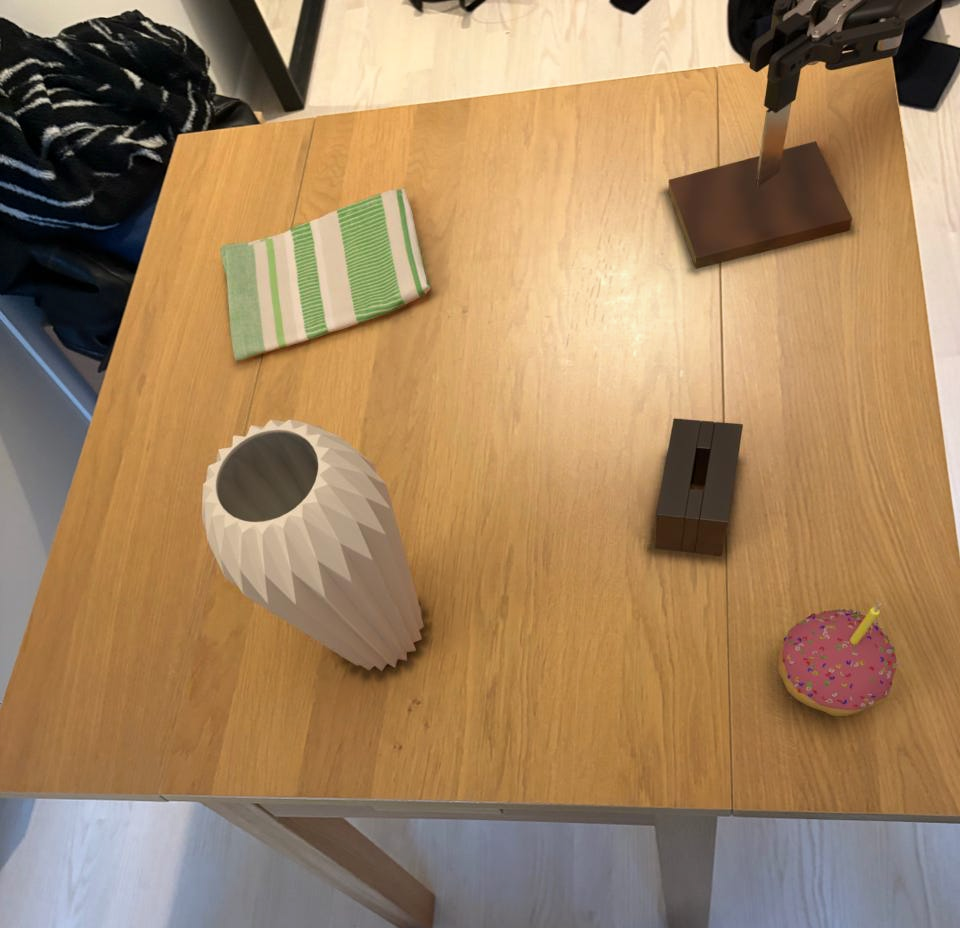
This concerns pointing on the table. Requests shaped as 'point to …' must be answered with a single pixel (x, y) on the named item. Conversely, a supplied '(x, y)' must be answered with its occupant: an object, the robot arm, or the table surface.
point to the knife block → (699, 461)
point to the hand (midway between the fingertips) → (762, 65)
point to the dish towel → (323, 275)
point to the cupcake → (838, 661)
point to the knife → (779, 102)
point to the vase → (313, 540)
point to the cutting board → (758, 206)
